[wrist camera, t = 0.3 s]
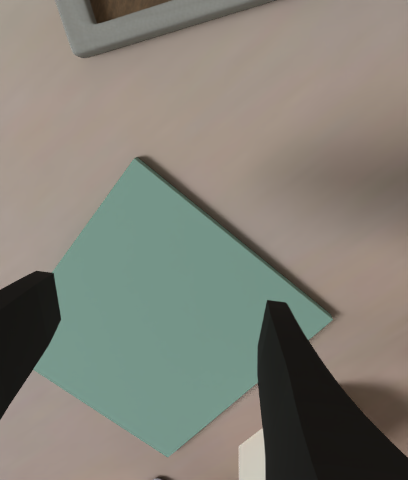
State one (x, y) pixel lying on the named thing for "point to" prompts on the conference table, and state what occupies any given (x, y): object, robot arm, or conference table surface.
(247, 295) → the mat
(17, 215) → the conference table surface
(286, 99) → the conference table surface
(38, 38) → the conference table surface
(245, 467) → the card box
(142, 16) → the picture frame
